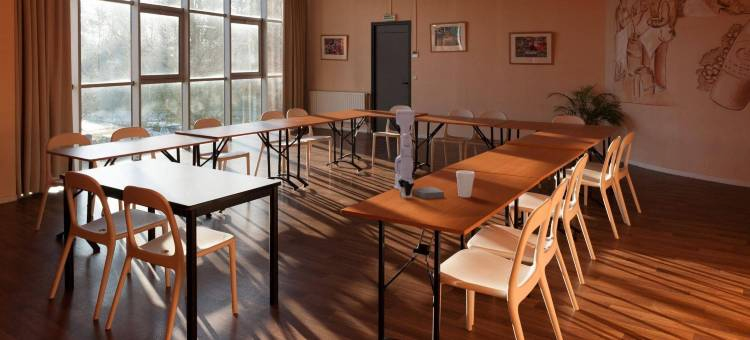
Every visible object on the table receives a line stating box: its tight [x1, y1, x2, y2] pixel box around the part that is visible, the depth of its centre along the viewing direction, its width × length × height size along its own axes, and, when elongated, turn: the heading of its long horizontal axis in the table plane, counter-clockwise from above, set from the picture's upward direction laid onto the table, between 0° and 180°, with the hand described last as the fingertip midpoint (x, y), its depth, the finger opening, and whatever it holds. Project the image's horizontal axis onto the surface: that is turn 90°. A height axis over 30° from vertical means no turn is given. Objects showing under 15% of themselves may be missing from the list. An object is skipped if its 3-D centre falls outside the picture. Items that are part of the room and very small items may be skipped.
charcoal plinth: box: [413, 186, 445, 200], centre depth 352 cm, size 12×12×3 cm
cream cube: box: [399, 187, 413, 199], centre depth 348 cm, size 5×5×5 cm
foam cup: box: [455, 169, 476, 198], centre depth 351 cm, size 10×9×13 cm
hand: (405, 194), depth 348 cm, fingers closed on cream cube, 5 cm apart
